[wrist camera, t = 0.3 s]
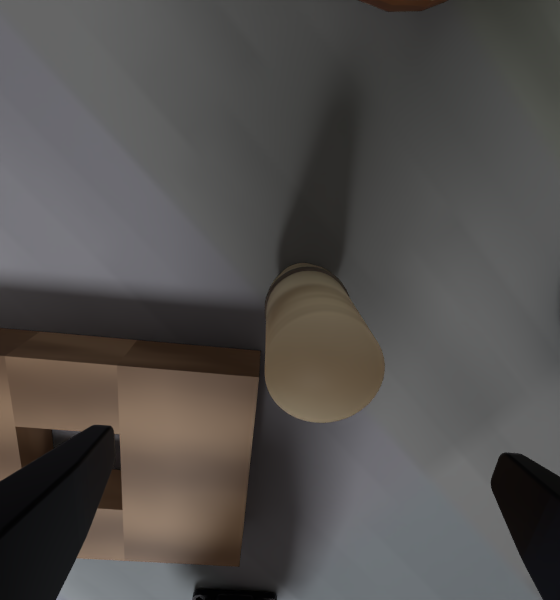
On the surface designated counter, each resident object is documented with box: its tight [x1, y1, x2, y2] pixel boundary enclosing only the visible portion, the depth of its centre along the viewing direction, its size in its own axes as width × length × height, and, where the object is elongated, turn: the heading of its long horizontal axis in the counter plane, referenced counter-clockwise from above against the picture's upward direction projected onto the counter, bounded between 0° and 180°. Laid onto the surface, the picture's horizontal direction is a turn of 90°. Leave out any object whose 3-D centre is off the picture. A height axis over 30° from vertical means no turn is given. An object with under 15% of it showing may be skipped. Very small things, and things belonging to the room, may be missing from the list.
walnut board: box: [0, 328, 261, 567], centre depth 22 cm, size 14×20×3 cm
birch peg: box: [265, 263, 385, 423], centre depth 16 cm, size 4×4×9 cm
